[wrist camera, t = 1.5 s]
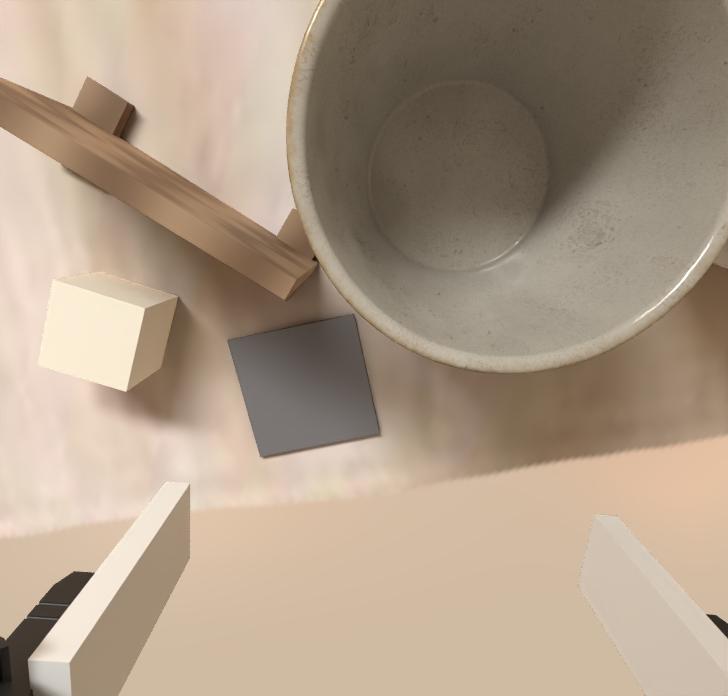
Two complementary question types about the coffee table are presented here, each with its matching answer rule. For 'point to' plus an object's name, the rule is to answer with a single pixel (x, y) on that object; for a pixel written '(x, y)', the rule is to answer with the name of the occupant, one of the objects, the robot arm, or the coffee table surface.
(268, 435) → the mat
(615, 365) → the coffee table surface
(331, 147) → the planter
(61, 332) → the cream cube
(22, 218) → the coffee table surface
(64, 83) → the coffee table surface
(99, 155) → the walnut screen
